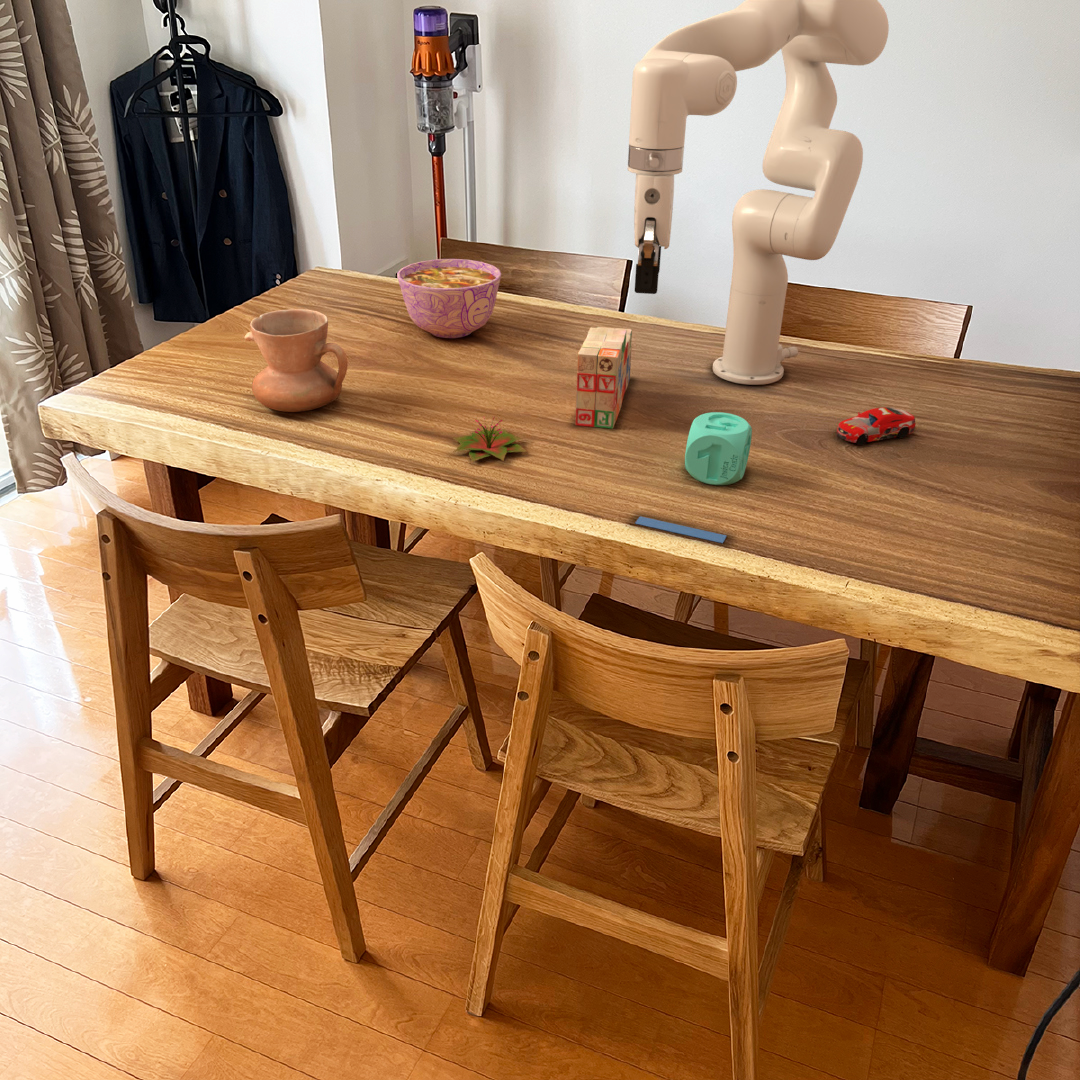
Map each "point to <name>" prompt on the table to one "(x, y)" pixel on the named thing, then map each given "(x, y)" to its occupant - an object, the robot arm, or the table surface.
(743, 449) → the decorative dice
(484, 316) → the bowl of food
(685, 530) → the tape line
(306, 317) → the ceramic jug
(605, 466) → the table surface
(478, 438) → the lily flower
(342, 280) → the table surface
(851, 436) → the race car
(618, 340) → the stack of blocks
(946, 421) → the table surface
